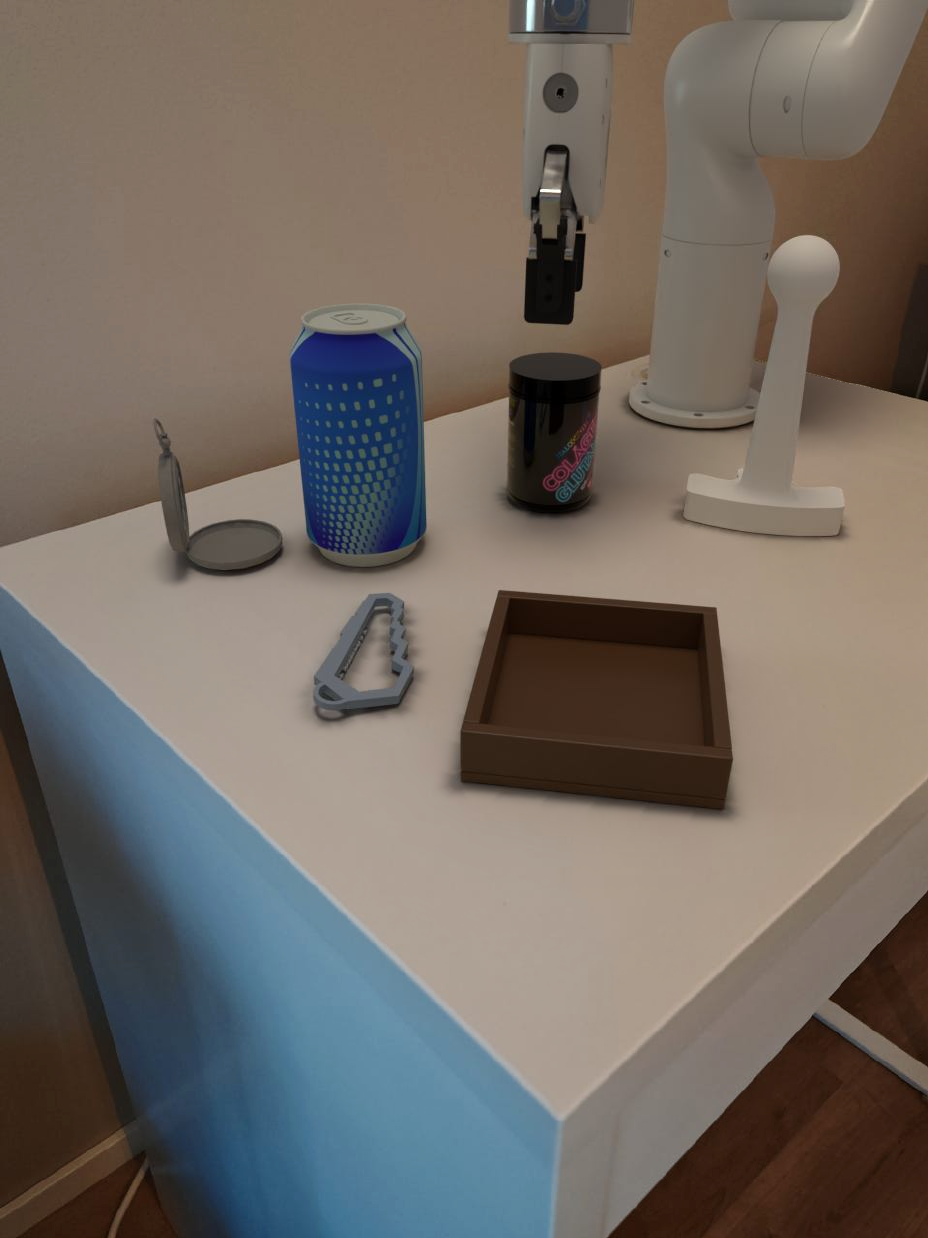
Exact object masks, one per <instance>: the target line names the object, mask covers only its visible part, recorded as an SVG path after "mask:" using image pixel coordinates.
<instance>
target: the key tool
mask: <svg viewBox="0 0 928 1238" xmlns="http://www.w3.org/2000/svg"><path fill="white" fill-rule="evenodd" d="M377 607H379V608H380V607H387V608H389V609H390V616H391V617H390V625H389V636H390V637H391V639H390V641H389V650H391V651H392V652H394V654H393V656H392V657H391V669H392V670H394V672H396V673H397V672H398V673H399V676H398V679H397V681H396V683H395V686H393V687H386V688H378V689H370V690H363V691H358V689H356V688H354V687H352V686H351V685H350V684H348V683H347V682H345V681H344V680H342V679H343V677H344V673H343V672H342V671H344V672H347V670H348V668H349V665H350V664H351V661H353V658H354V656H355V654H356V653H357V650H358V649H359V647H360V645H361V641H362V640H363V639H364V636H366V634H367V630H368V629H365V627H366V626H367V624H368V622H369V621H370V618H371V616H372V614H373V612H374V611H375V608H377ZM404 610H405V601H404V600H403V599H401V598H399V597H398V596H396V595H394V594H393V593H391V592H379V593H378V592H377V593H369V594H368V595H367V596H366V598H365V599H364V600H363V601H362V602H361V604H360V605H359V606H358V607H357V609H356V610H355V612H354V615H351V616H350V617H349V619H348V620H347V622H346V624H345V625H344V626H343V628H342V629H341V631H340V637H339V639H338V640H337V643H336V644H335V646H334V647H332V648H331V650H330V651H329V653H328V655H326V657H325V659H324V660H323V662H322V663H321V665H320V666H319V667H318V669H317V671H316V672H315V674H314V675H313V685H315V686H314V688H313V690H312V699H313V702H314V704H315V705H316V706H317V707H318V708H320V709H323V710H326V711H331V712H332V711H341V710H344V709H346V710H352V709H353V710H354V709H363V708H371V707H373V708H374V707H381V706H390V705H399V704H400V701H401V699H402V698H403V695H404V694H405V692H406V690H407V688H408V686H409V684H410V682H411V680H412V678H413V676H414V675H415V674H414V673H415V666H414V665H412V663H410V662H409V661H407V660H406V659H405V658H406V655H407V653H408V652H409V641H407V640H405V638H406V631H407V628H406V627H405V626H404V625H402V624H401V622H402V620H403V618H404ZM341 672H342V673H341ZM323 692H324V693H325V694H326V695H327V696H329V697H330V698H331V699H333V700H328V699H326V698H323V697H322V696H321V694H322V693H323Z"/></svg>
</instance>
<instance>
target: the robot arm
mask: <svg viewBox="0 0 928 1238" xmlns="http://www.w3.org/2000/svg"><path fill="white" fill-rule="evenodd" d="M508 2H509V3H508V33H507V44H526V51H525V73H524V74H525V75H524V97H523V98H524V99H523V127H522V130H523V131H522V212H523V216H524V217H525V218H526V219H527V220H529V221H530V222H531V224H530V225H531V226H530V236H529V244H528V256H527V257H526V259H525V275H524V276H525V278H524V279H525V280H524V302H523V303H524V305H523V320H524V321H525V322H526V323H528V324H540V325H560V326H561V325H562V326H563V325H564V326H569V325H571V324H572V322H573V321H574V316H575V299H576V293H579V292H580V291H582V289H583V284H584V271H585V270H584V269H585V255H586V254H585V253H586V241H587V240H586V239H587V233H585V232H584V227H585V216H587V217H588V224H589V225H593V224H595V223H596V222H598V221H599V219H600V218H601V217H602V214H603V211H604V206H605V196H606V195H605V194H606V184H607V183H606V181H607V167H608V155H609V143H610V142H609V141H610V132H611V131H610V130H611V117H612V116H611V115H612V102H613V101H612V99H613V75H614V74H613V73H614V72H613V69H614V63H613V62H614V60H613V59H614V57H613V54H614V53H613V48H614V47H613V45H632V32H633V19H634V7H635V0H508ZM727 8H728V12H729V15H730V17H731V19H732V20H725V21H719V22H713V23H709V24H706V25H703V26H700V27H699V28H696V29H694V30H693V31H692V32H690V33H688V34H687V35H686V36H685V37H684V38H683V39H682V40H681V41H680V42H679V43H678V44H677V45H676V47H675V48H674V50H673V52H672V54H671V56H670V58H669V61H668V62H667V67H666V69H665V75H664V83H663V114H664V115H663V116H664V126H665V143H666V174H665V175H666V176H665V178H666V179H665V194H664V195H665V196H664V206H663V220H662V229H661V237H660V238H661V240H660V247H659V248H660V249H659V258H658V269H657V278H656V286H655V287H656V288H655V297H654V298H655V299H654V310H653V317H652V318H653V319H652V328H651V329H652V330H651V339H650V349H649V357H648V358H649V359H648V370H647V378H646V379H645V380H642V381H640V382H638V383H636V384H634V385H633V386H632V387H631V389H630V391H629V398H628V399H629V401H628V403H629V406H630V407H631V408H632V409H633V411H635V412H636V413H637V414H639V415H641V416H643V417H644V418H646V419H649V420H652V421H655V422H659V423H662V424H666V425H672V426H676V427H683V428H694V429H722V428H732V427H738V426H741V425H745V424H746V425H747V424H749V423H750V422H754V420H755V416H756V411H757V407H758V402H759V397H760V392H759V391H757V390H755V389H754V388H752V387H751V385H750V384H751V378H752V372H753V371H752V370H753V365H754V359H755V352H756V346H757V340H758V334H759V333H758V332H759V327H760V319H761V314H762V308H763V302H764V294H765V287H766V283H767V270H768V265H769V262H770V256H771V249H772V243H773V238H774V234H775V233H774V232H775V227H776V226H775V225H776V205H775V199H774V196H773V192H772V188H771V187H770V184H769V182H768V180H767V177H766V175H765V173H764V171H763V169H762V167H761V164H760V163H759V160H758V158H779V159H794V160H807V161H840V160H845V159H848V158H851V157H853V156H856V154H858V153H859V152H860V151H862V150H863V149H864V148H865V147H866V145H867V144H868V143H869V142H870V141H871V139H872V137H873V136H874V134H875V132H876V130H877V129H878V126H879V125H880V123H881V120H882V118H883V116H884V114H885V112H886V109H887V106H888V104H889V102H890V100H891V97H892V95H893V93H894V90H895V88H896V85H897V83H898V81H899V78H900V76H901V73H902V71H903V68H904V67H905V64H906V61H907V59H908V57H909V55H910V52H911V50H912V48H913V45H914V43H915V40H916V38H917V36H918V33H919V30H920V28H921V26H922V23H923V21H924V18H925V16H926V14H927V11H928V0H727Z"/></svg>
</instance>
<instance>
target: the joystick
mask: <svg viewBox="0 0 928 1238" xmlns="http://www.w3.org/2000/svg"><path fill="white" fill-rule="evenodd" d="M840 263H841V262H840V258H839V255H838V253H837V250H836V249H835V248H834V246H833V245H832V244H831V243H830V242H829V241H827V240H826V239H825V238H823V237H820V236H817V235H811V234H804V235H798V236H794V237H792V238H790V239H788V240H787V241H785V242H783V243H782V244H780V246H779V247H778V248H777V249H776V250H775V252H774V253H773V254H772V256H771V258H770V259H769V263H768V269H767V276H766V282H767V285H768V288H769V290H770V293H771V294H772V296H773V297H774V299H775V302H776V306H777V317H776V320H775V321H776V322H775V326H774V330H773V335H772V339H771V343H770V348H769V353H768V357H767V361H766V367H765V371H764V376H763V379H762V384H761V389H760V392H759V394H760V397H759V402H758V407H757V411H756V416H755V420H753V425H752V430H751V435H750V438H749V443H748V448H747V452H746V457H745V462H744V465H743V466H742V467H740V468H738V470H737V474H736V478H734V479H724V478H720V477H715V476H711V475H707V474H703V473H700V472H699V473H698V472H696V473H695V472H694V473H693V472H692V473H690V474H689V475H688V478H687V484H686V489H685V490H686V491H685V498H684V504H683V505H684V506H683V508H684V509H683V514H682V517H683V519H685V520H687V521H691V522H695V523H698V524H702V525H708V526H713V527H717V528H721V529H722V528H723V529H728V530H733V531H738V532H739V531H741V532H747V533H755V534H765V535H775V536H791V537H828V536H830V537H831V536H832V537H833V536H837V535H839V533H840V529H841V524H842V519H843V515H844V510H845V507H846V504H845V503H846V502H845V496H844V491H843V489H841V488H840V487H837V486H814V487H813V486H812V487H811V486H810V487H804V486H799V485H795V484H794V483H793V476H794V470H795V469H794V468H795V460H796V452H797V445H798V437H799V431H800V430H799V429H800V422H801V414H802V405H803V399H804V389H805V383H806V376H807V367H808V360H809V354H810V353H809V352H810V346H811V345H810V344H811V336H812V328H813V321H814V316H815V314H816V311H817V310H818V307H819V306H820V305H821V304H822V302H823V301H824V300H825V299H826V298H827V297H829V295H830V294H831V293H832V292H833V290H834V289H835V287H836V285H837V283H838V281H839V276H840V271H841V264H840Z"/></svg>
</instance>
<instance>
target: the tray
mask: <svg viewBox="0 0 928 1238" xmlns="http://www.w3.org/2000/svg"><path fill="white" fill-rule="evenodd" d="M717 610H718V609H717V607H716V606H703V605H691V604H678V603H666V602H653V601H644V600H643V601H641V600H630V599H629V600H628V599H618V598H617V599H616V598H606V597H605V598H604V597H591V596H580V595H567V594H555V593H544V592H543V593H542V592H529V591H520V590H519V591H518V590H504V589H499V590H498V591H497V594H496V598H495V602H494V605H493V609H492V613H491V616H490V619H489V623H488V627H487V631H486V634H485V639H484V643H483V646H482V650H481V653H480V656H479V661H478V664H477V668H476V672H475V676H474V679H473V683H472V685H471V690H470V694H469V698H468V701H467V704H466V709H465V712H464V715H463V719H462V724H461V727H460V732H459V736H460V737H459V743H460V744H459V746H460V747H459V748H460V749H459V750H460V752H459V753H460V755H459V756H460V762H459V763H460V772H459V773H460V774H459V775H460V776H459V777H460V781H462V782H470V783H477V784H478V783H479V784H487V785H497V786H506V787H515V788H523V789H533V790H543V791H553V792H561V793H569V794H570V793H572V794H578V795H590V796H598V797H607V798H617V799H624V800H634V801H644V802H652V803H661V804H671V805H681V806H689V807H699V808H709V809H717V810H724V809H725V805H726V798H727V795H728V794H727V793H728V789H729V783H730V778H731V773H732V768H733V763H734V756H733V745H732V736H731V729H730V728H731V726H730V717H729V709H728V708H729V707H728V699H727V690H726V682H725V672H724V663H723V654H722V653H723V652H722V644H721V635H720V626H719V616H718V611H717Z"/></svg>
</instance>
